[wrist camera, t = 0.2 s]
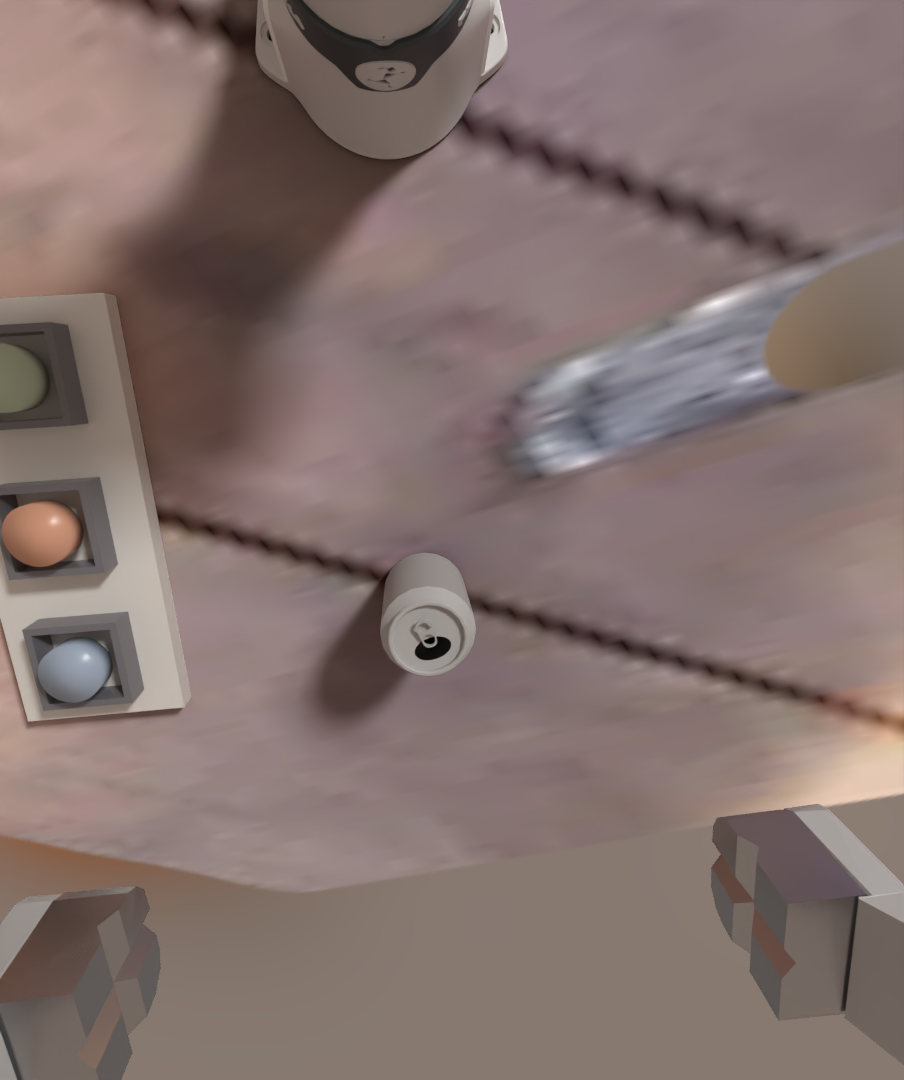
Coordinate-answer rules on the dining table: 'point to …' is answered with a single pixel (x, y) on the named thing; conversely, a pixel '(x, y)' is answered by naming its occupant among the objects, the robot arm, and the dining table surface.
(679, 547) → the dining table surface
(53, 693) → the slate button
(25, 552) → the terracotta button
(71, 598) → the console
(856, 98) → the dining table surface
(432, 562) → the can
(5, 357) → the sage button
